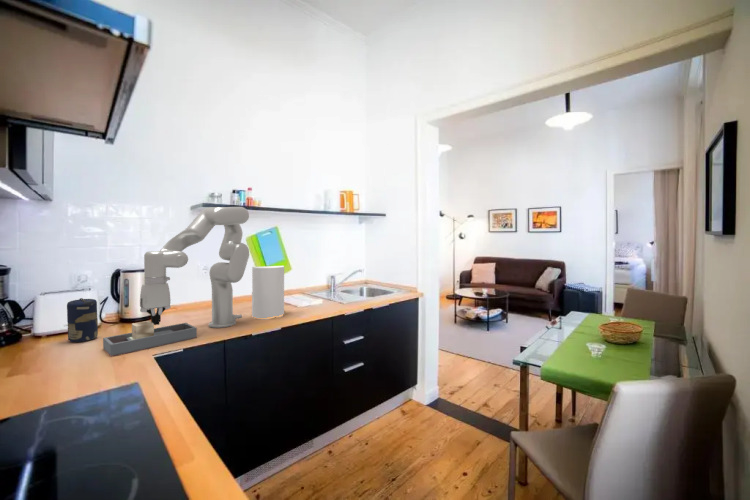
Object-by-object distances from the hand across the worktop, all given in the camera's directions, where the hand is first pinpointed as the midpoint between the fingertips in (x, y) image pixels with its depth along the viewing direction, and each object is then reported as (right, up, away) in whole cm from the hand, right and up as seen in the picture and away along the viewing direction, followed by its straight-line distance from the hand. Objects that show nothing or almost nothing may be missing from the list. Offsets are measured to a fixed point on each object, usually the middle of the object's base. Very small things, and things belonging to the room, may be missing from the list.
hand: (155, 324), depth 136 cm
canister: (-32, -7, +2) cm, 33 cm away
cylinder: (+31, -6, +48) cm, 58 cm away
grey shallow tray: (-1, -8, -1) cm, 8 cm away
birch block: (-3, -5, -3) cm, 7 cm away
